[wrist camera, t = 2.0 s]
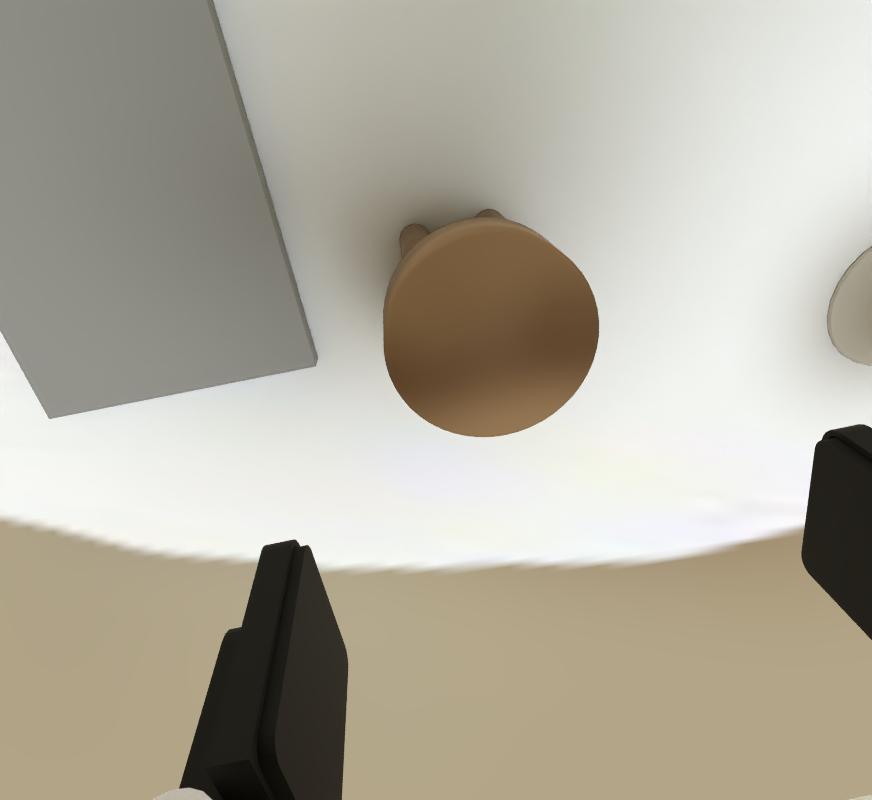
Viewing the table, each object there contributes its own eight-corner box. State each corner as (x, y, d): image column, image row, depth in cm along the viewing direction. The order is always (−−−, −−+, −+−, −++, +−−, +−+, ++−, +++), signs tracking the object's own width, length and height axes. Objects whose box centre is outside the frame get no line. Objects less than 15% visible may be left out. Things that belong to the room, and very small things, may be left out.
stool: (367, 207, 26) (360, 257, 17) (523, 175, 26) (593, 211, 17) (399, 351, 29) (407, 454, 21) (538, 324, 29) (603, 415, 21)
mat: (-218, -103, 20) (-245, -113, 19) (159, -180, 20) (148, -193, 19) (59, 409, 29) (49, 418, 28) (317, 358, 29) (315, 366, 28)
